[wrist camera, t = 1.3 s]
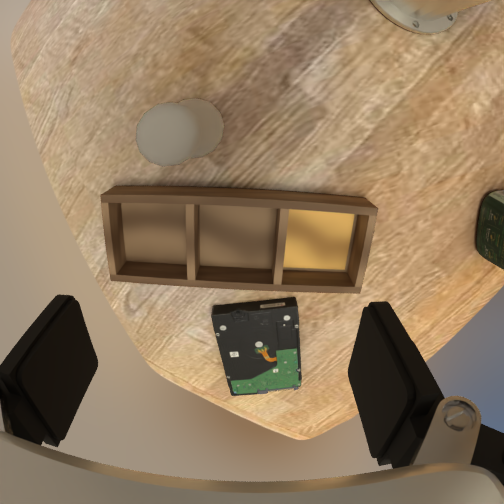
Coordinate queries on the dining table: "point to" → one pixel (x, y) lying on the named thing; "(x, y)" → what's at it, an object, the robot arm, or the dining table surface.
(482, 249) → the coffee jar
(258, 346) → the disk drive
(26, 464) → the robot arm
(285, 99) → the dining table surface
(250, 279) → the wooden compartment tray
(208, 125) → the salt shaker
